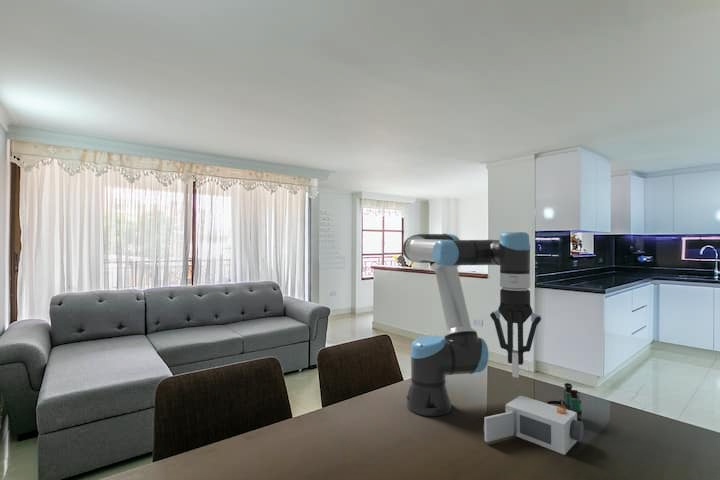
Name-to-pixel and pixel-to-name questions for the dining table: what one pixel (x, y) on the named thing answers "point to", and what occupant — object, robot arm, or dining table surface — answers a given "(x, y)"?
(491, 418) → the side door
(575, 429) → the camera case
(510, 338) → the robot arm
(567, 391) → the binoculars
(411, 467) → the dining table surface
